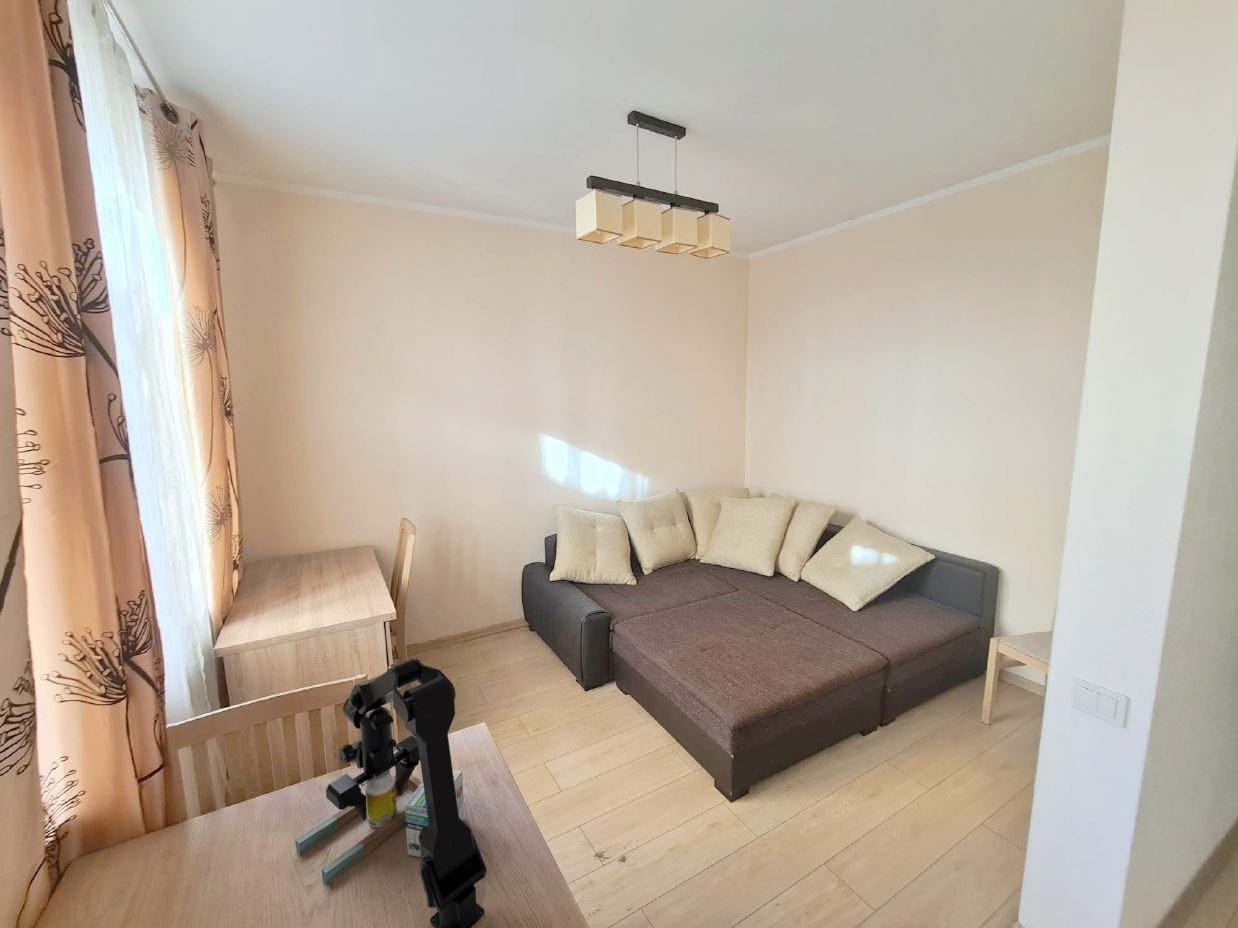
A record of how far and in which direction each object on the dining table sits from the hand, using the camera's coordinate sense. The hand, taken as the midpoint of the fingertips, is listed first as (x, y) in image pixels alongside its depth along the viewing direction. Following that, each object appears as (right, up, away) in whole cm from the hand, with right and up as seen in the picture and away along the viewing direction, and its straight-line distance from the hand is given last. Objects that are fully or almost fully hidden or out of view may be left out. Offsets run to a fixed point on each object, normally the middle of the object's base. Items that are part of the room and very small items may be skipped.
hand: (381, 806), depth 107 cm
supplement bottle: (0, -3, 0) cm, 3 cm away
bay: (-2, -3, -2) cm, 4 cm away
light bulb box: (+13, -3, -4) cm, 14 cm away
